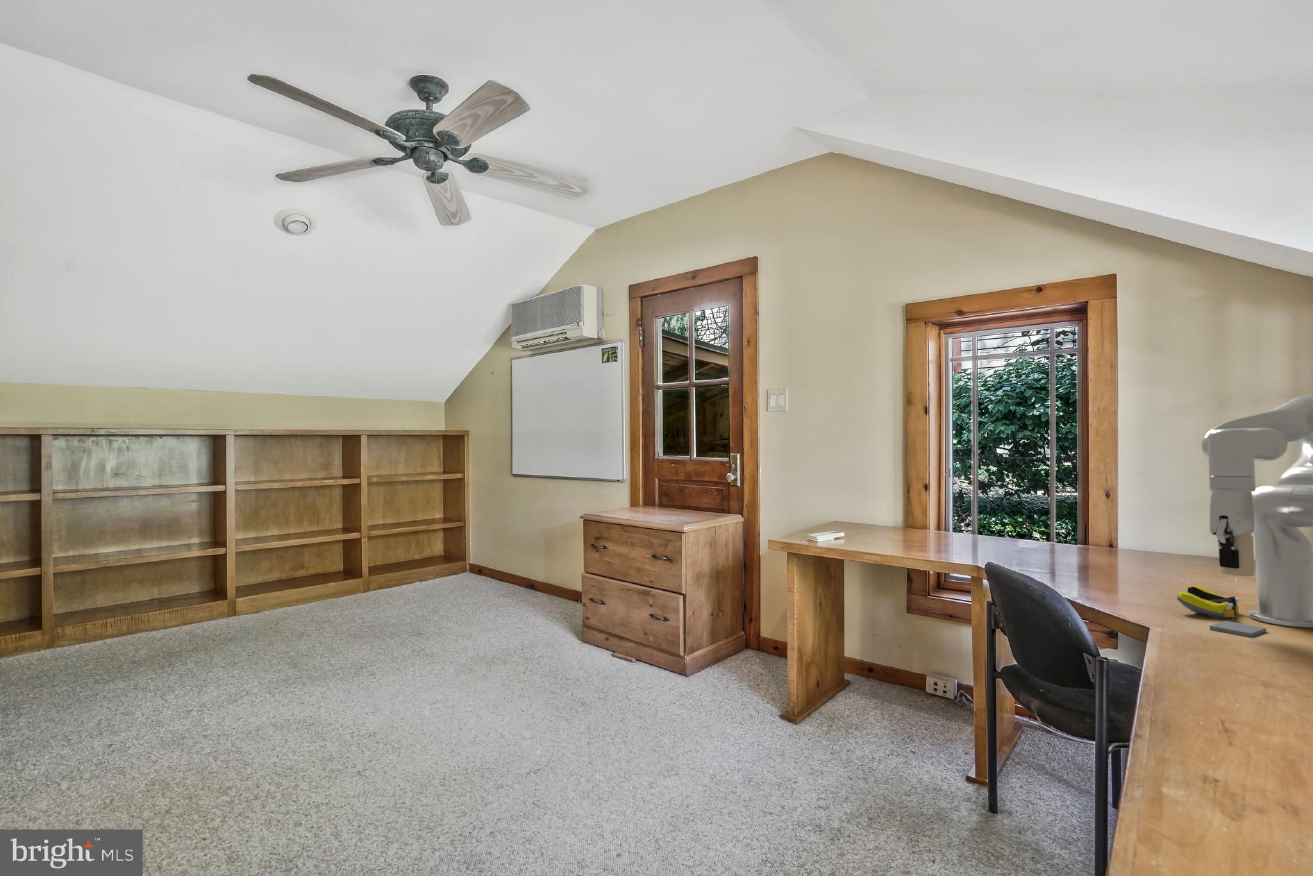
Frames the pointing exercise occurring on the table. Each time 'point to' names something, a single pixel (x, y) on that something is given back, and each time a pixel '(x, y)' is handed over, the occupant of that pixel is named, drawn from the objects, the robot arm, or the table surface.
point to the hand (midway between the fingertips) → (1235, 565)
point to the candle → (1242, 557)
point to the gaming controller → (1208, 602)
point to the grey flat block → (1238, 628)
